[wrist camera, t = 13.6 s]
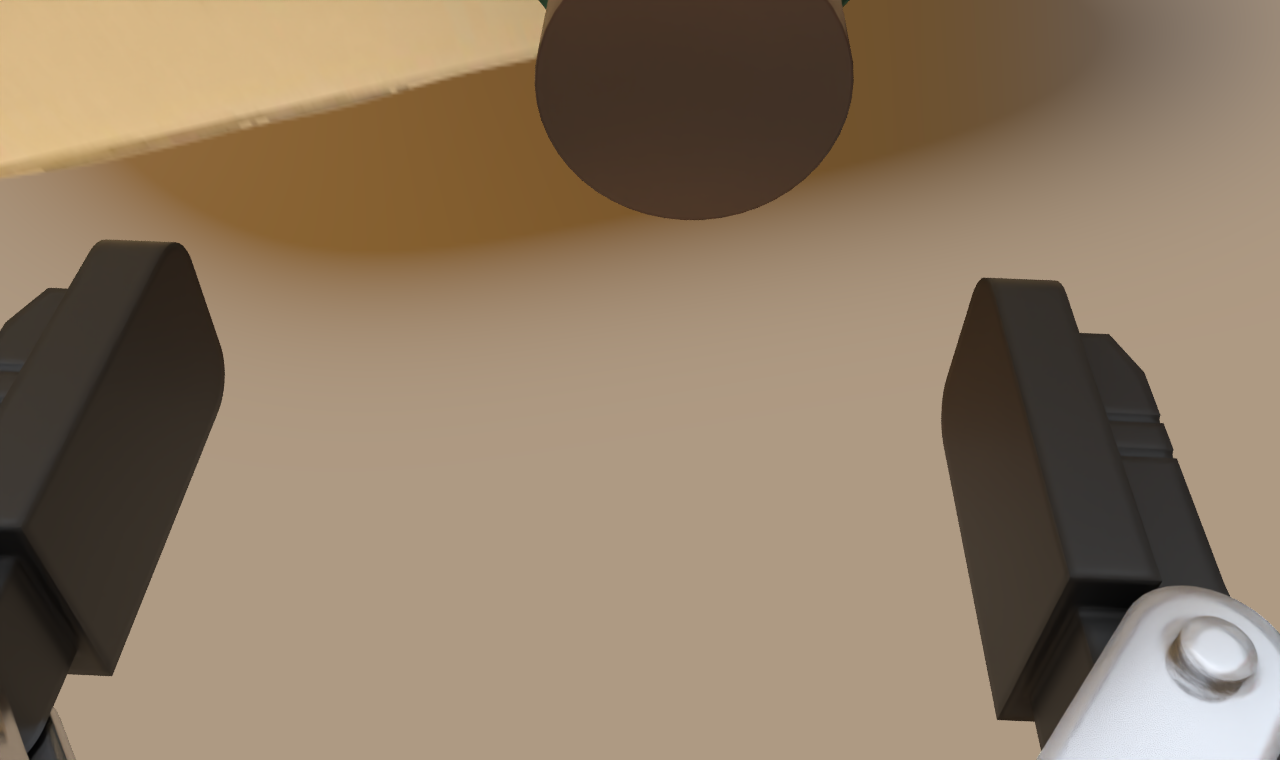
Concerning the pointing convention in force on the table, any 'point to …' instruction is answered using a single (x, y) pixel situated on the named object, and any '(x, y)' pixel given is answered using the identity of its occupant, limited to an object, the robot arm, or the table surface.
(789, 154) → the stopper
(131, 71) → the table surface
